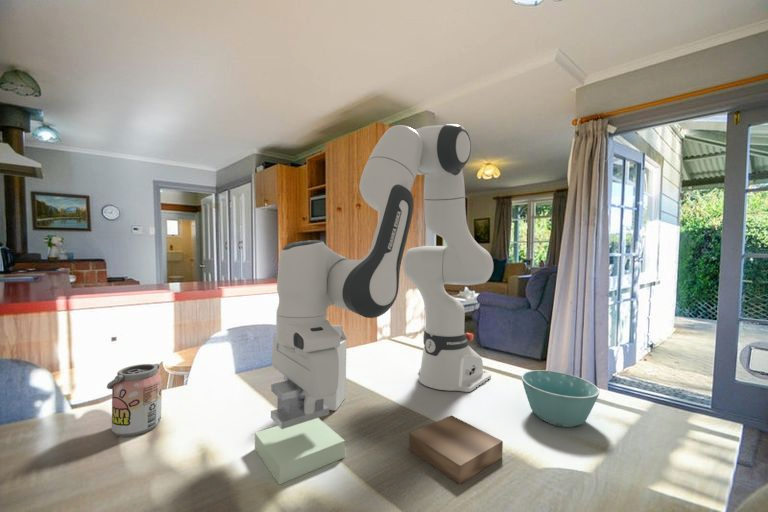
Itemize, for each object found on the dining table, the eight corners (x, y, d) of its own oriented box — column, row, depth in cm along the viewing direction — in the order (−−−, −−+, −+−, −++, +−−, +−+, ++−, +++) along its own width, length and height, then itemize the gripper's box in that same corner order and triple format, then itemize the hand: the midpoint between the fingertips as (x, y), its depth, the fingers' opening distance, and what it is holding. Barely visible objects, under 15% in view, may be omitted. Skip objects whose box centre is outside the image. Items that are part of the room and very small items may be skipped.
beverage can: (97, 432, 67) (97, 372, 67) (140, 413, 75) (141, 359, 75) (129, 442, 64) (129, 379, 64) (170, 421, 72) (171, 365, 71)
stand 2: (451, 429, 71) (451, 415, 71) (502, 457, 62) (502, 441, 62) (408, 449, 64) (409, 433, 64) (459, 484, 54) (460, 465, 54)
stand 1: (313, 428, 70) (314, 414, 70) (344, 457, 61) (345, 440, 61) (254, 448, 63) (254, 432, 63) (279, 484, 53) (279, 465, 53)
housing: (270, 417, 61) (271, 384, 61) (316, 404, 66) (316, 373, 66) (281, 429, 57) (282, 393, 57) (329, 414, 62) (329, 381, 62)
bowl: (605, 418, 78) (606, 382, 78) (588, 445, 66) (590, 403, 66) (534, 397, 88) (535, 365, 88) (509, 417, 77) (510, 381, 77)
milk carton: (335, 411, 78) (337, 329, 78) (307, 408, 79) (308, 327, 79) (345, 398, 85) (347, 323, 85) (318, 395, 86) (320, 321, 86)
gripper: (264, 321, 67) (262, 390, 68) (311, 344, 51) (309, 435, 52) (294, 318, 71) (292, 383, 71) (346, 338, 55) (344, 422, 55)
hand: (300, 405), depth 61 cm, fingers closed on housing, 5 cm apart
